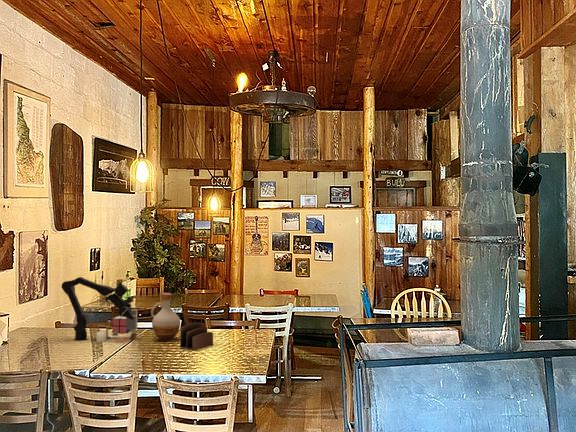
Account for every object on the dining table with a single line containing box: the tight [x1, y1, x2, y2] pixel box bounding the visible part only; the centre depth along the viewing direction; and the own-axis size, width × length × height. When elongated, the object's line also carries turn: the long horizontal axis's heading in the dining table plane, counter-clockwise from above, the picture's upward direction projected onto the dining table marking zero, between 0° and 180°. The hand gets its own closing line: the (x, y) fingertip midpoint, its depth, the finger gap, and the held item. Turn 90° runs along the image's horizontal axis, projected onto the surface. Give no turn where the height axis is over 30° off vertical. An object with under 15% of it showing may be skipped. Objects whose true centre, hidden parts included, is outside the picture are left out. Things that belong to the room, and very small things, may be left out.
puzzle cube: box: [111, 316, 132, 334], centre depth 391 cm, size 10×10×10 cm
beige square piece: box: [96, 330, 107, 343], centre depth 358 cm, size 6×6×6 cm
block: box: [130, 332, 138, 340], centre depth 367 cm, size 3×3×3 cm
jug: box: [150, 292, 181, 342], centre depth 364 cm, size 20×18×30 cm
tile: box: [113, 337, 131, 344], centre depth 359 cm, size 8×8×1 cm
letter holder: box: [179, 321, 214, 351], centre depth 343 cm, size 10×20×14 cm, turn 150°
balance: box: [95, 324, 119, 340], centre depth 367 cm, size 15×5×10 cm, turn 122°
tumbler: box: [126, 308, 138, 331], centre depth 366 cm, size 6×6×12 cm
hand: (134, 318), depth 367 cm, fingers closed on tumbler, 6 cm apart
